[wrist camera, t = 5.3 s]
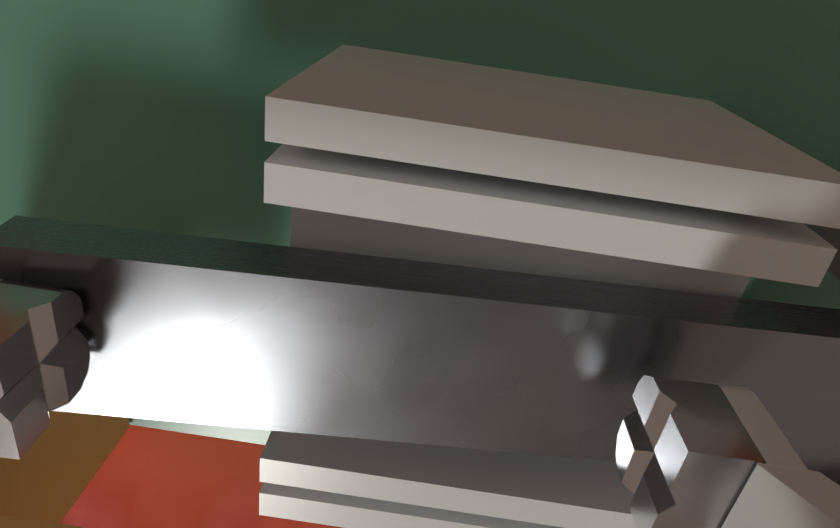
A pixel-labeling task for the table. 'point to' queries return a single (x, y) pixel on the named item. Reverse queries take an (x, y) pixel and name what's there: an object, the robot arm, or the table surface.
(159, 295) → the dark grey flat bar
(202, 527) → the table surface
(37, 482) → the tan wooden block
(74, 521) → the table surface
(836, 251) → the board
